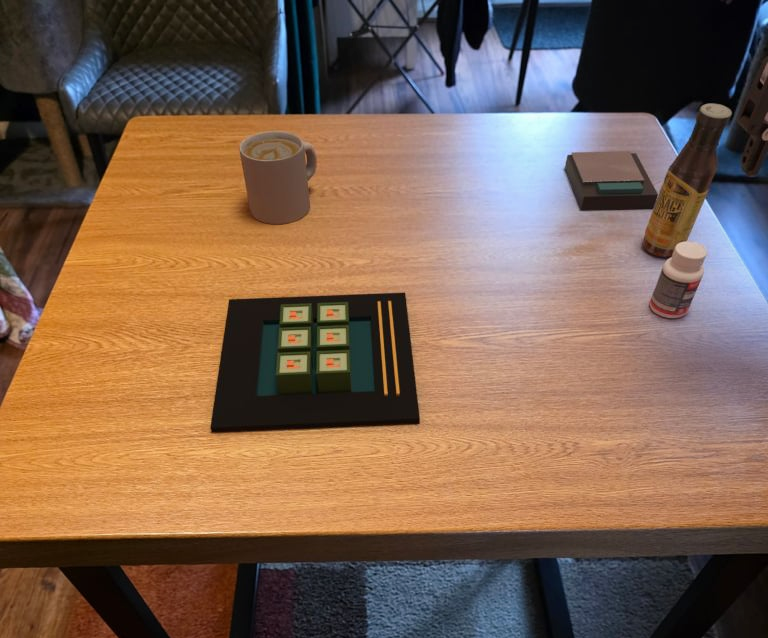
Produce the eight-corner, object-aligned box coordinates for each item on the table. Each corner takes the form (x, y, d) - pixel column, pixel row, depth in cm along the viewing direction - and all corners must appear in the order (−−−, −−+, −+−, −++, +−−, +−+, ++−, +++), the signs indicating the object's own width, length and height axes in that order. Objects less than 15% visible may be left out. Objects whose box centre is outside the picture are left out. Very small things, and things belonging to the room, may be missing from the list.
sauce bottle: (632, 242, 102) (677, 101, 86) (666, 233, 103) (717, 94, 87) (657, 264, 98) (709, 122, 82) (692, 255, 100) (750, 114, 84)
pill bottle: (678, 324, 90) (703, 266, 83) (642, 310, 92) (663, 252, 85) (693, 304, 93) (718, 247, 85) (657, 291, 94) (679, 234, 87)
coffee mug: (269, 231, 105) (259, 167, 97) (239, 205, 110) (227, 142, 102) (339, 204, 110) (334, 141, 102) (307, 180, 114) (301, 118, 106)
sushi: (419, 423, 79) (420, 401, 76) (211, 432, 79) (204, 410, 76) (405, 297, 94) (405, 274, 91) (230, 304, 94) (225, 281, 91)
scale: (632, 167, 116) (637, 148, 114) (653, 208, 108) (659, 189, 105) (564, 168, 116) (568, 149, 113) (580, 210, 108) (585, 191, 105)
